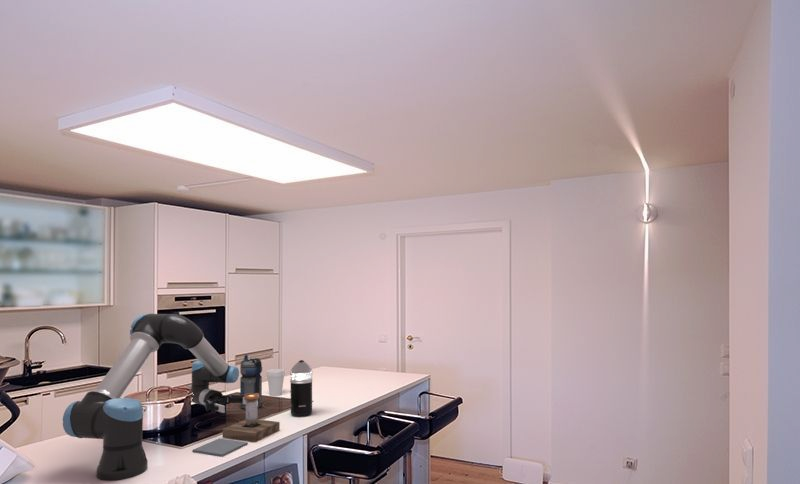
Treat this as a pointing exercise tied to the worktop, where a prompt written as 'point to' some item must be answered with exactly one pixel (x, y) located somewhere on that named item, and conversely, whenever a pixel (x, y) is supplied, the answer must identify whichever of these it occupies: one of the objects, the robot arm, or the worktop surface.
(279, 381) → the foam cup
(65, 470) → the worktop surface
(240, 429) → the bore block
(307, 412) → the black coffee grinder
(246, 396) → the steel plug
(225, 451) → the rubber pad
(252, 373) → the beverage bottle
